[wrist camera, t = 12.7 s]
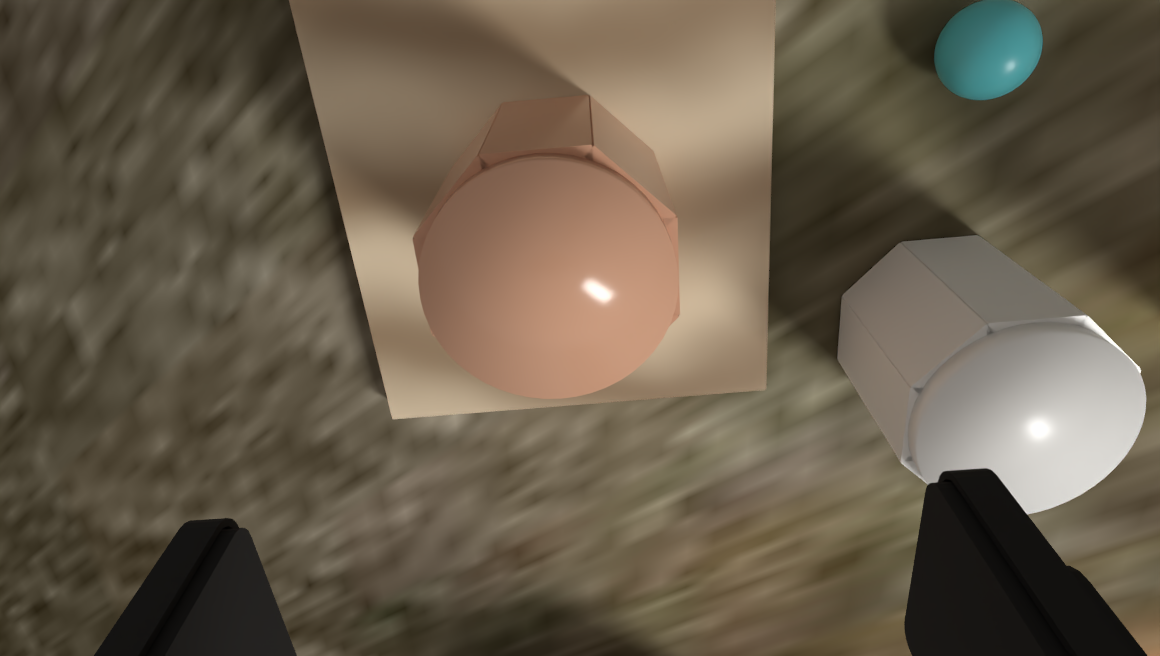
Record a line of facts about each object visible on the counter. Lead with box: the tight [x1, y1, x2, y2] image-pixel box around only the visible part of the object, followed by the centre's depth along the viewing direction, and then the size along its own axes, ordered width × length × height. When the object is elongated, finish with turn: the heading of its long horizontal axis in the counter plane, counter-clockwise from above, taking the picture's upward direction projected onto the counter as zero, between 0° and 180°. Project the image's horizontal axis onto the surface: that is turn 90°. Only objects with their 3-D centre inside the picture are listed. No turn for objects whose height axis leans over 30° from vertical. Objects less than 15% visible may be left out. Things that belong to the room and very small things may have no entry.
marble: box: [934, 0, 1043, 100], centre depth 25 cm, size 3×3×3 cm
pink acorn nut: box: [413, 95, 680, 399], centre depth 24 cm, size 7×7×8 cm
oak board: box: [289, 0, 776, 419], centre depth 29 cm, size 18×16×1 cm
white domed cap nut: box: [837, 235, 1146, 514], centre depth 28 cm, size 7×7×8 cm
